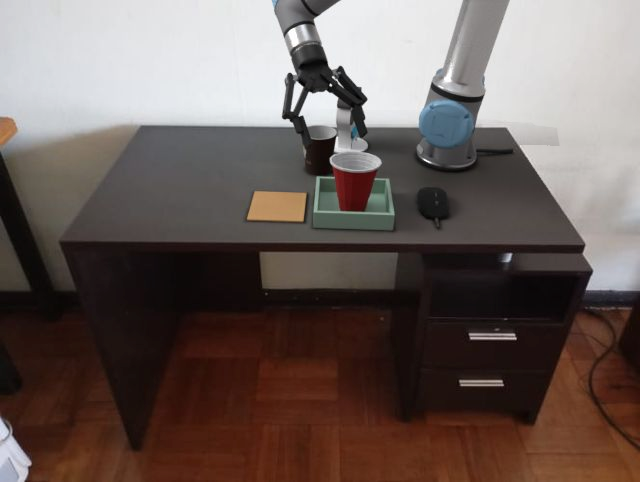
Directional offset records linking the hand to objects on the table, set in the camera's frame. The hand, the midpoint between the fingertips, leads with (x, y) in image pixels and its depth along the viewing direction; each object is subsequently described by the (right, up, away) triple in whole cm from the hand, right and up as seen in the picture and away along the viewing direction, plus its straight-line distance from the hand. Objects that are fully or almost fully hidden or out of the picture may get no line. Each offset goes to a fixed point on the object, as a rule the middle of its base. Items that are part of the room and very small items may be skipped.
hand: (337, 141), depth 109 cm
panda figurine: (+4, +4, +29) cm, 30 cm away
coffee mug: (-4, -3, +19) cm, 19 cm away
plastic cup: (+3, -15, +2) cm, 15 cm away
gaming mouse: (+21, -15, +3) cm, 26 cm away
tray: (+3, -15, +2) cm, 15 cm away
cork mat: (-13, -14, +3) cm, 19 cm away
